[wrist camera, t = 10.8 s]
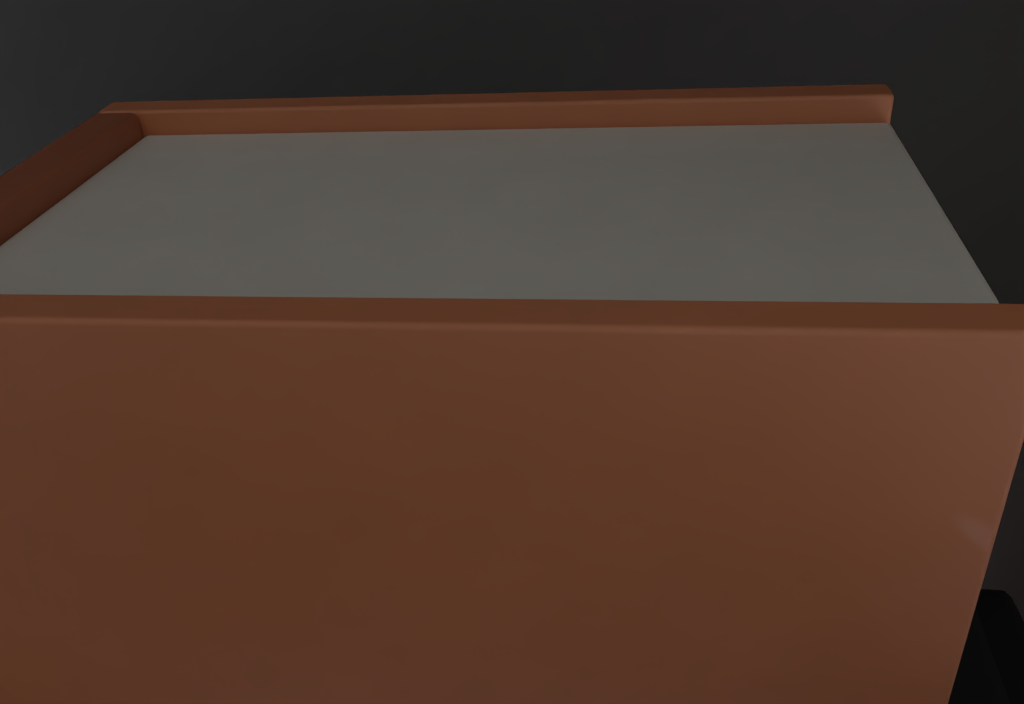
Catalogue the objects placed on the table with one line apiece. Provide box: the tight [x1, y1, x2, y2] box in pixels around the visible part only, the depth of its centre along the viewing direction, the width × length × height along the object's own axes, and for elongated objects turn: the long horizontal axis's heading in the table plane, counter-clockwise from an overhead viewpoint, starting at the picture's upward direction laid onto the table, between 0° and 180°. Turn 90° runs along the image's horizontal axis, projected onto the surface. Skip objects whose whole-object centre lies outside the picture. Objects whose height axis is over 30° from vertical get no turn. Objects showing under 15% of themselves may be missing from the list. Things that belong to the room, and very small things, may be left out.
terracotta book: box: [0, 84, 1024, 704], centre depth 9 cm, size 10×7×4 cm, turn 4°
